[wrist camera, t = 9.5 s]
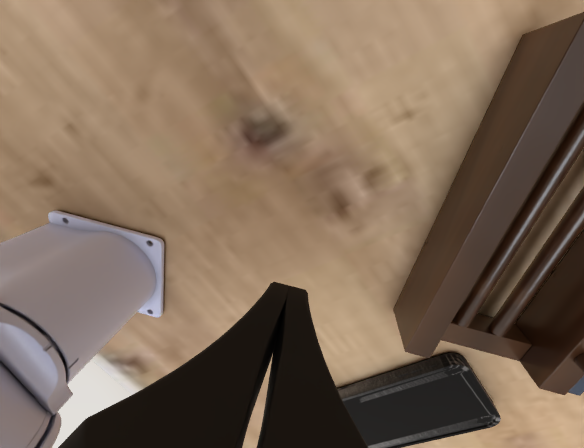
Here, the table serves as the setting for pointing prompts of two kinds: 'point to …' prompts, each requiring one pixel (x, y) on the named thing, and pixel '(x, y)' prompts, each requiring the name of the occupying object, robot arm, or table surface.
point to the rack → (512, 223)
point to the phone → (420, 403)
